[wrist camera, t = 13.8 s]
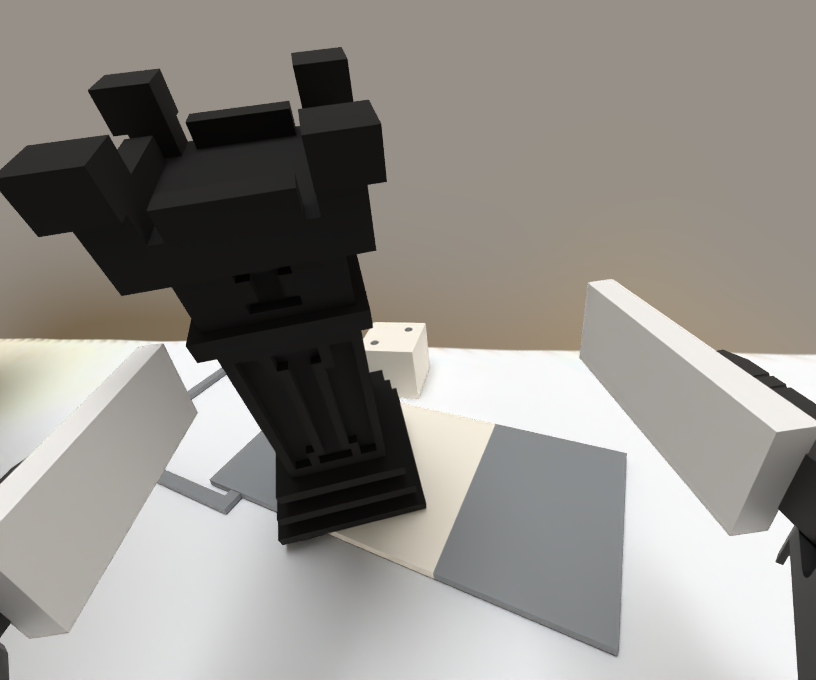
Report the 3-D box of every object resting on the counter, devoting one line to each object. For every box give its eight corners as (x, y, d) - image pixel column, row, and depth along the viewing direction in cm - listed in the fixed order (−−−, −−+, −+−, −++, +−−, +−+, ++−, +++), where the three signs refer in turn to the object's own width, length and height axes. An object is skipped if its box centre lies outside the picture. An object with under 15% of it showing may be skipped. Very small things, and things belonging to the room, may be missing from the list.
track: (212, 484, 27) (209, 479, 26) (313, 387, 35) (312, 382, 35) (616, 656, 16) (618, 650, 16) (625, 459, 24) (626, 453, 24)
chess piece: (281, 420, 27) (94, 73, 12) (397, 394, 28) (351, 43, 13) (282, 544, 22) (-48, 192, 7) (426, 508, 22) (404, 127, 8)
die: (365, 396, 33) (355, 348, 31) (382, 365, 37) (374, 320, 34) (418, 399, 32) (411, 350, 29) (430, 367, 36) (425, 321, 33)
